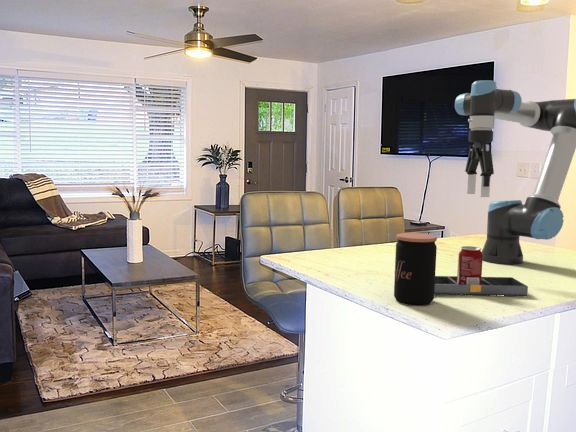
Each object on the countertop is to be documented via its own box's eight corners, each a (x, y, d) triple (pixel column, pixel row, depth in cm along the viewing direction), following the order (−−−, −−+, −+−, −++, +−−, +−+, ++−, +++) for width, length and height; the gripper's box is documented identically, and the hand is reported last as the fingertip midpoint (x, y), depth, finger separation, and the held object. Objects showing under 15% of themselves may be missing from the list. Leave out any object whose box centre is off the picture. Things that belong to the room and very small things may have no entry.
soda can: (482, 291, 160) (484, 250, 158) (457, 289, 161) (460, 249, 160) (478, 285, 166) (481, 246, 165) (455, 284, 168) (457, 245, 166)
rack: (511, 287, 169) (512, 276, 169) (527, 297, 158) (528, 286, 157) (413, 285, 170) (414, 274, 169) (422, 294, 158) (423, 283, 157)
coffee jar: (389, 296, 156) (391, 232, 154) (426, 296, 157) (429, 232, 155) (400, 306, 145) (402, 238, 143) (439, 306, 146) (443, 238, 144)
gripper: (458, 131, 192) (454, 192, 194) (482, 127, 167) (478, 198, 169) (479, 131, 192) (476, 192, 194) (507, 128, 167) (503, 198, 169)
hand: (477, 195), depth 182 cm, fingers open, 13 cm apart
